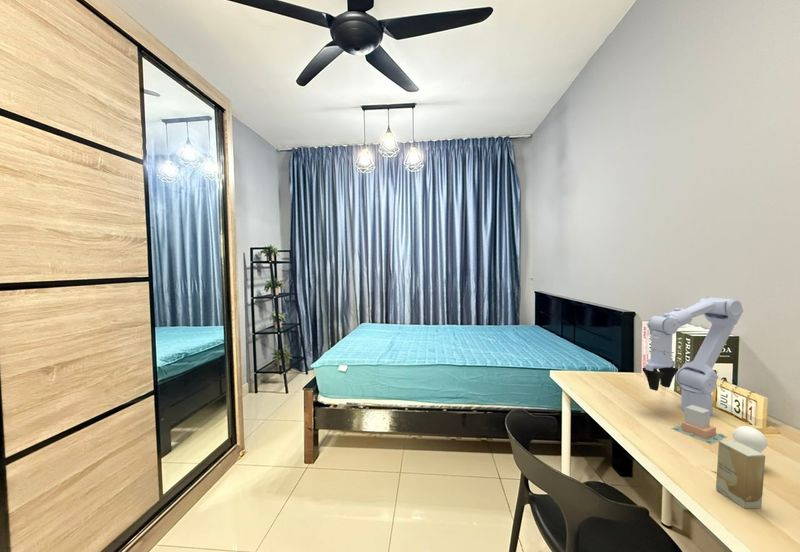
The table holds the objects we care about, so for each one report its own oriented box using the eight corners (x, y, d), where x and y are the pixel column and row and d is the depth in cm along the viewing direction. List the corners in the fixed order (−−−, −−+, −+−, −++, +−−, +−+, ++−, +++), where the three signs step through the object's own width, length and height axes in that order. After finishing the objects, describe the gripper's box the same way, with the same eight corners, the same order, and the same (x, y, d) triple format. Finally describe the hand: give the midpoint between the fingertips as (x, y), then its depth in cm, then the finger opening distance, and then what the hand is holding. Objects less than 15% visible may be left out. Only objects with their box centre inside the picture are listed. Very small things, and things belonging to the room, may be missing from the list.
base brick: (691, 426, 104) (691, 418, 104) (715, 435, 98) (715, 427, 98) (681, 430, 101) (682, 422, 101) (706, 439, 96) (706, 431, 96)
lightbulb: (773, 477, 80) (775, 434, 79) (744, 474, 81) (746, 432, 81) (752, 462, 86) (753, 423, 85) (725, 459, 87) (726, 420, 87)
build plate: (687, 424, 106) (687, 420, 106) (727, 439, 97) (727, 435, 97) (671, 431, 102) (671, 427, 102) (711, 447, 93) (711, 442, 93)
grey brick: (692, 419, 103) (692, 404, 103) (709, 426, 99) (710, 410, 99) (684, 422, 101) (685, 407, 101) (702, 428, 97) (702, 413, 97)
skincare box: (714, 489, 75) (716, 439, 75) (731, 488, 76) (732, 438, 75) (746, 510, 69) (748, 455, 68) (764, 509, 69) (766, 454, 69)
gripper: (659, 345, 118) (658, 381, 118) (636, 349, 112) (635, 387, 112) (682, 350, 111) (681, 388, 112) (659, 354, 105) (658, 394, 106)
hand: (659, 388), depth 112 cm, fingers open, 7 cm apart
